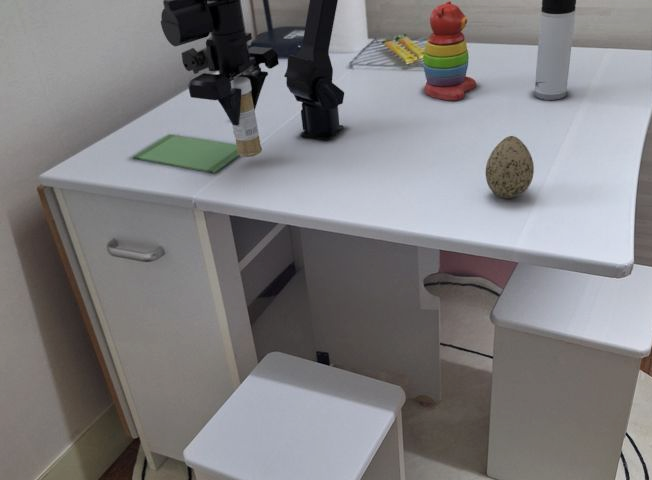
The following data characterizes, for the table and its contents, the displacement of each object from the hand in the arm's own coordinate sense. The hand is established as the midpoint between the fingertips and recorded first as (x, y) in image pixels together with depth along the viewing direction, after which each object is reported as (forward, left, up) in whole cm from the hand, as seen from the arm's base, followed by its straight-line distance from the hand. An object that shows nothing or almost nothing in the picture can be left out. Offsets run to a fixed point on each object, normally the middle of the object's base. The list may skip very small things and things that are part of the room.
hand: (243, 120), depth 122 cm
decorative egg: (-47, -3, -9) cm, 48 cm away
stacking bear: (-21, -44, -9) cm, 50 cm away
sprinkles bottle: (0, 0, -7) cm, 7 cm away
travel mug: (-42, -47, -9) cm, 64 cm away
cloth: (+14, 0, -8) cm, 16 cm away
